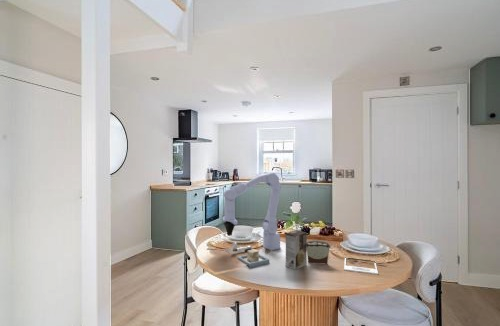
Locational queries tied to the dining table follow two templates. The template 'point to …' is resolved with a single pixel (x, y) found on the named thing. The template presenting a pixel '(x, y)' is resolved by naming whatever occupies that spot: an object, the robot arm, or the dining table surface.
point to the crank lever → (240, 248)
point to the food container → (318, 252)
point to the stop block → (253, 255)
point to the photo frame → (360, 269)
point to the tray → (254, 264)
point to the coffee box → (296, 249)
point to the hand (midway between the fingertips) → (229, 235)
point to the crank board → (230, 250)
